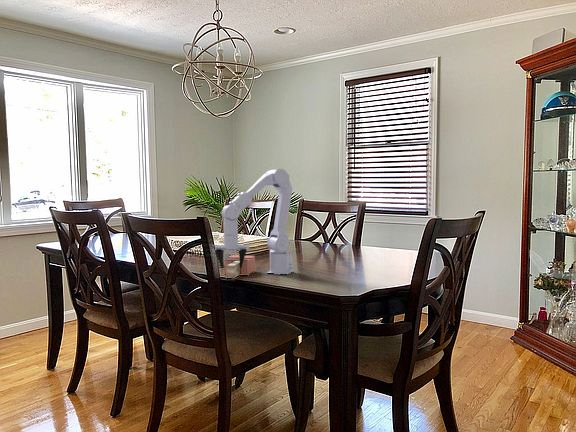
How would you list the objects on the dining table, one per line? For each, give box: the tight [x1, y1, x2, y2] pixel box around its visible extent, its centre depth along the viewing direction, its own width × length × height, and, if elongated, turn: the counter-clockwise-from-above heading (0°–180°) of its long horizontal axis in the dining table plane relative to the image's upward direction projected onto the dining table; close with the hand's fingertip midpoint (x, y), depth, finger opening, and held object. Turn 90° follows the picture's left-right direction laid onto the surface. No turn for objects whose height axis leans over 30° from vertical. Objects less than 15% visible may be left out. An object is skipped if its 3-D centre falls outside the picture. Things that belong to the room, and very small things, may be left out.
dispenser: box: [224, 254, 256, 275], centre depth 207 cm, size 10×10×7 cm
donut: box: [223, 248, 238, 266], centre depth 220 cm, size 10×3×10 cm, turn 46°
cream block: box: [226, 261, 241, 278], centre depth 202 cm, size 12×3×6 cm, turn 166°
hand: (231, 267), depth 198 cm, fingers open, 7 cm apart
